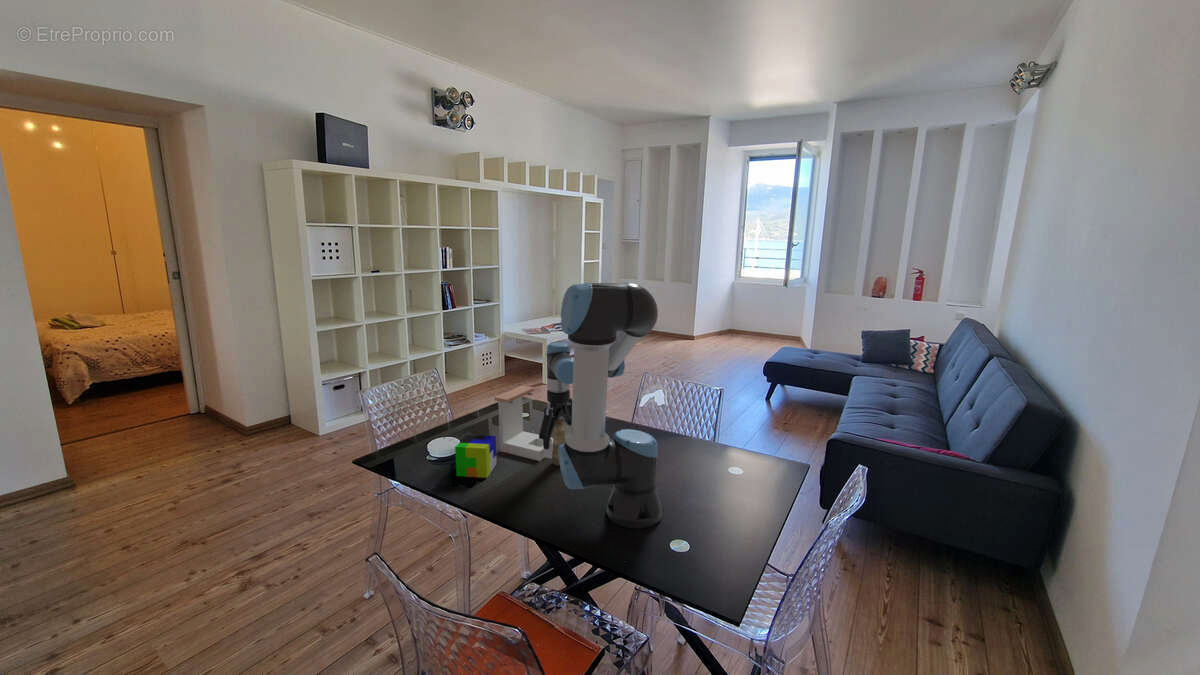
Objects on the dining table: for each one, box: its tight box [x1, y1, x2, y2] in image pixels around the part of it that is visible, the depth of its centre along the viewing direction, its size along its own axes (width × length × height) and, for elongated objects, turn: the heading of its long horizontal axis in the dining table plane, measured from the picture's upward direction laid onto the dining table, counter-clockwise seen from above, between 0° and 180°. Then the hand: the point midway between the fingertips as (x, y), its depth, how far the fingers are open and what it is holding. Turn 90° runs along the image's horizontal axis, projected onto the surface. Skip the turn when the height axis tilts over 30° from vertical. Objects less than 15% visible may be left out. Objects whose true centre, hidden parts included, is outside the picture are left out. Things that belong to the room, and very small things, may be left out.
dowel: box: [552, 418, 566, 466], centre depth 165 cm, size 4×4×15 cm
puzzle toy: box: [454, 434, 497, 479], centre depth 160 cm, size 10×10×10 cm
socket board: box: [499, 430, 553, 462], centre depth 176 cm, size 12×17×4 cm
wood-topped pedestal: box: [494, 385, 535, 443], centre depth 177 cm, size 16×6×17 cm, turn 153°
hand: (558, 449), depth 165 cm, fingers open, 13 cm apart
